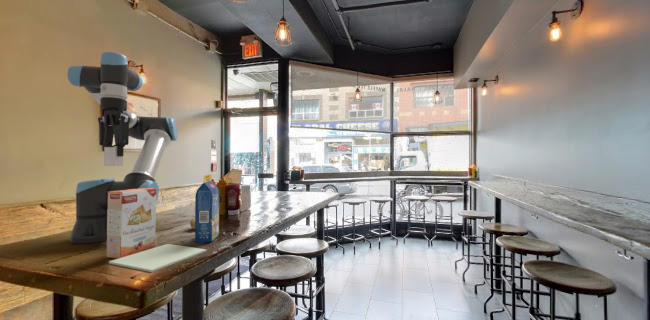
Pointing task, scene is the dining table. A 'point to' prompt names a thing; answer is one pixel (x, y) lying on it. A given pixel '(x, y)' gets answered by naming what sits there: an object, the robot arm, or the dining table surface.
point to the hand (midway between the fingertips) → (113, 165)
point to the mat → (157, 257)
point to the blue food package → (207, 211)
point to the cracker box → (130, 221)
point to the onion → (192, 223)
